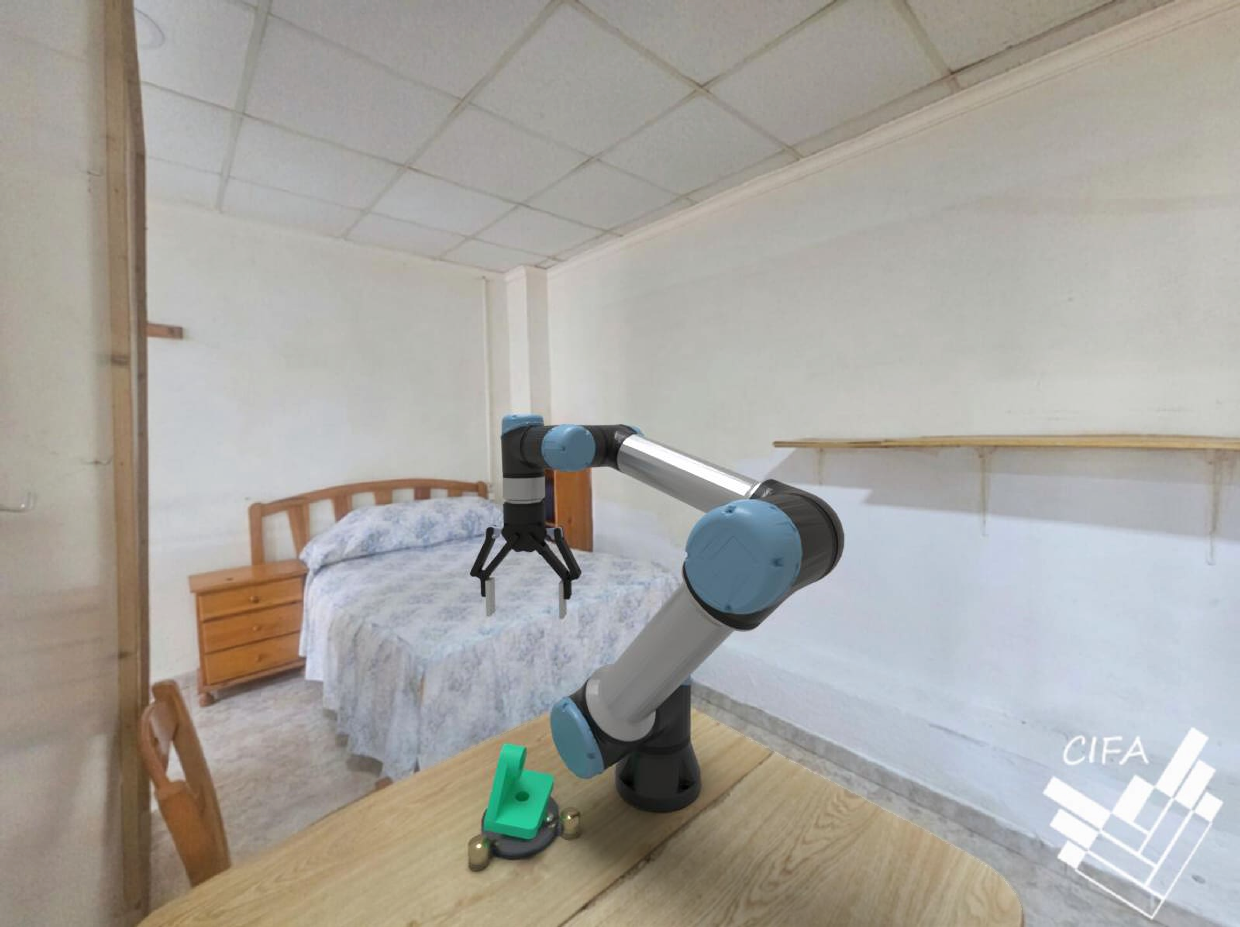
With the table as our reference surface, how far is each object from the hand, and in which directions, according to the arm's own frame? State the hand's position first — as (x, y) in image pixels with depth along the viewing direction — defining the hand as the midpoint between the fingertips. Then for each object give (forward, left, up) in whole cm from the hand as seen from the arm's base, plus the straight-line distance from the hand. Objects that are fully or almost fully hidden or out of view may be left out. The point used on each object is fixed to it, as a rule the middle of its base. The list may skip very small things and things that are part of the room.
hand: (526, 615), depth 95 cm
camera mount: (-3, +15, -26) cm, 30 cm away
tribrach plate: (-5, +15, -29) cm, 33 cm away
